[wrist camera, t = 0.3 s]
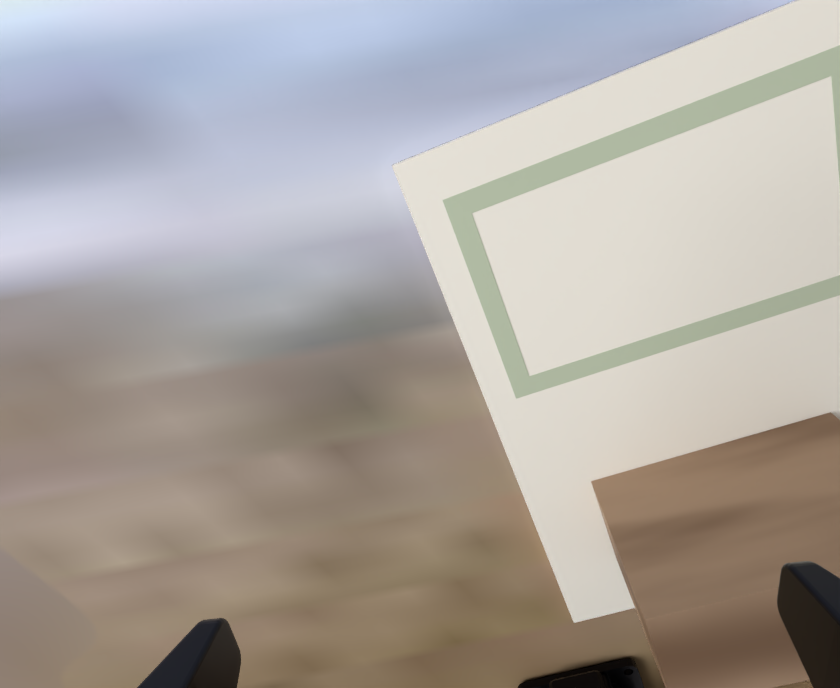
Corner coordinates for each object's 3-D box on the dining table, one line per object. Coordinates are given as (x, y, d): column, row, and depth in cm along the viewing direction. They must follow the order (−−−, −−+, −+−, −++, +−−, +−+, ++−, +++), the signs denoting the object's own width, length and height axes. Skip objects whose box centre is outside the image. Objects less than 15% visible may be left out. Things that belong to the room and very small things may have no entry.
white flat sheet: (908, 534, 27) (914, 539, 26) (572, 617, 29) (573, 623, 29) (889, -38, 17) (896, -40, 17) (392, 164, 20) (392, 165, 20)
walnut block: (839, 501, 25) (974, 644, 19) (616, 560, 27) (673, 708, 21) (830, 412, 23) (978, 538, 17) (590, 481, 25) (645, 619, 19)
